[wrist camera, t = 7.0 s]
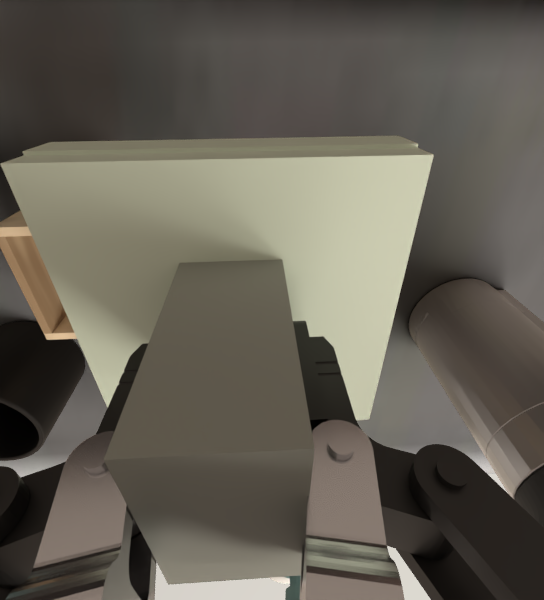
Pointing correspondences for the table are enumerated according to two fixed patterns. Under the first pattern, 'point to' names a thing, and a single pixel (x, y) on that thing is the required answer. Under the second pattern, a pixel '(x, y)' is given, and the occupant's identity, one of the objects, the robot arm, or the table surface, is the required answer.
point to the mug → (33, 386)
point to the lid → (223, 316)
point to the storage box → (34, 278)
